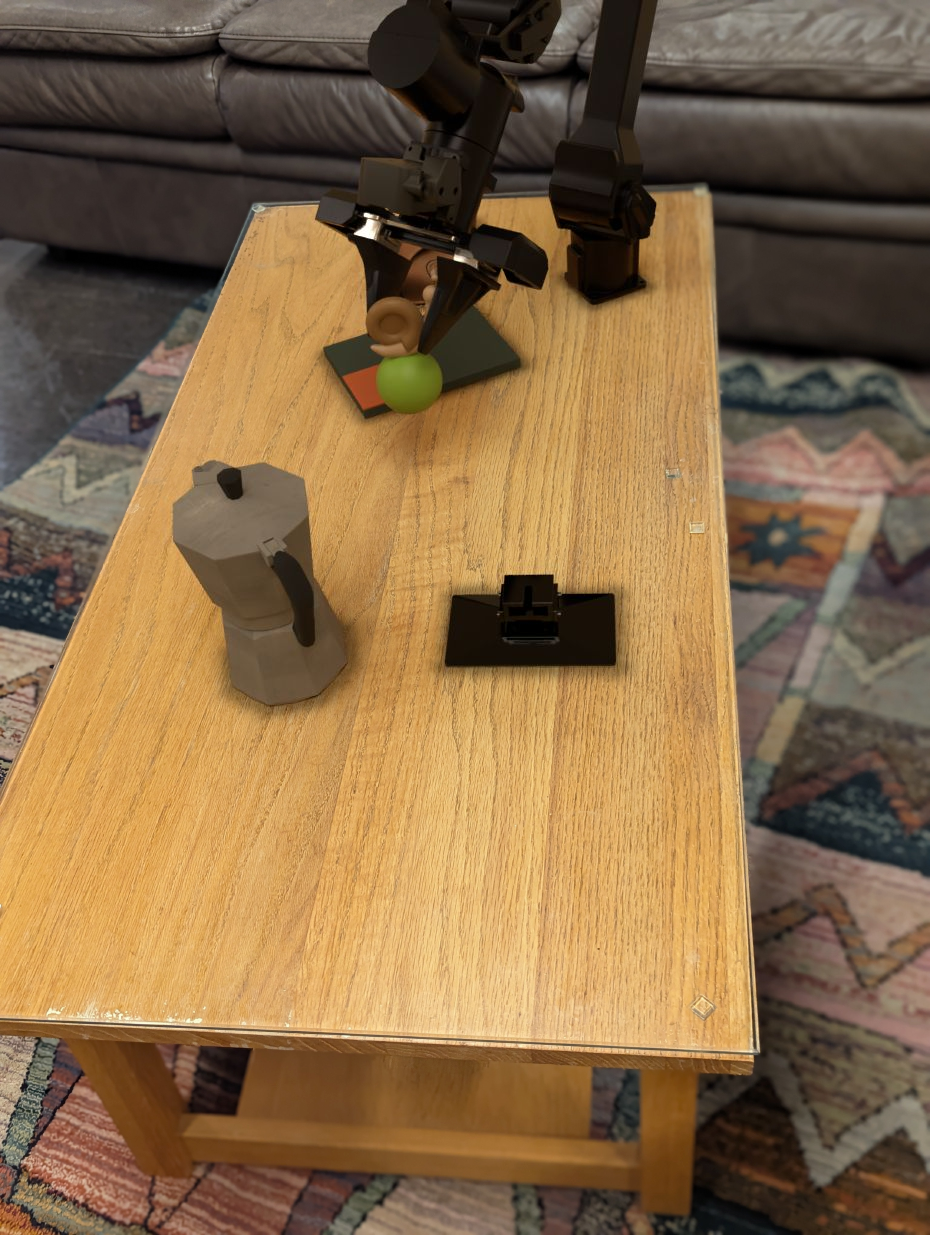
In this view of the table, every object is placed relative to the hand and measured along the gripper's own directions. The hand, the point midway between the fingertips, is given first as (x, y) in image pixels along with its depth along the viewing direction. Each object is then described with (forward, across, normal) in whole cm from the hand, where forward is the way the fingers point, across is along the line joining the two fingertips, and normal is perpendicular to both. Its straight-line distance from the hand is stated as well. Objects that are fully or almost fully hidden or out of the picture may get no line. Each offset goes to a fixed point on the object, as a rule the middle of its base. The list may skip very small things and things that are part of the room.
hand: (396, 345), depth 85 cm
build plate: (+17, +19, +1) cm, 25 cm away
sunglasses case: (-12, -19, +31) cm, 38 cm away
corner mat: (0, -9, +19) cm, 21 cm away
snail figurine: (+4, 0, +6) cm, 7 cm away
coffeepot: (+25, +5, -8) cm, 27 cm away
